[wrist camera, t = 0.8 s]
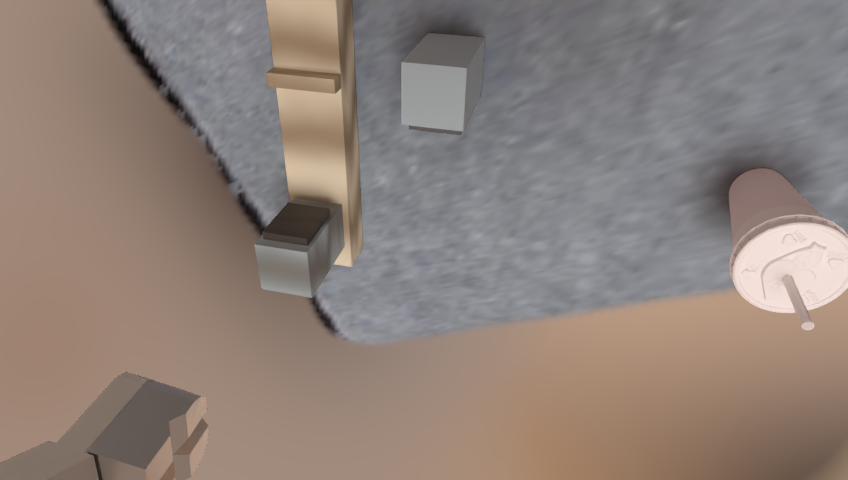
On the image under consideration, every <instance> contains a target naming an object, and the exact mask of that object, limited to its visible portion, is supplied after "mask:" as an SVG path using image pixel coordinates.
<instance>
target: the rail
mask: <svg viewBox="0 0 848 480" xmlns="http://www.w3.org/2000/svg"><path fill="white" fill-rule="evenodd" d="M266 5H267V14H268V22H269V31H270V39H271V47H272V56H273V64H274V68H273V69H271V70H270V71H268V72H267V73H266V74H267V82H268V87H275V88H276V89H277V98H278V106H279V114H280V123H281V131H282V140H283V148H284V156H285V165H286V173H287V182H288V190H289V198H290V203H289V202H288V203H287V205H286V206H285V207H284V208H283V209H282V210H281V211H280V212H279V214H278V215H277V216H276V217H275V218H274V219H273V220H272V222H271V223H270V224H269V225H268V226H267V227H266V228H265V229H264V231H263V232H262V233H263V235H262V236H261V237H260V238H259V240H258V241H257V242H256V243H255V244H254V245H255V251H256V257H257V263H258V270H259V276H260V281H261V287H262V289H266V290H271V291H277V292H283V293H288V294H294V295H300V296H305V297H311V298H312V297H313V295H314V293H315V292H316V290H317V289H318V287H319V286H320V284H321V283H322V281H323V279H324V278H325V276H326V275H327V273H328V272H329V270H330V269H331V267H332V265H333V264H337V265H343V266H350V267H352V265H353V264H354V262H355V260H356V259H357V257H358V255H359V254H360V252H361V250H362V249H363V236H362V214H361V191H360V169H359V146H358V124H357V101H356V79H355V57H354V34H353V12H352V0H266Z"/></svg>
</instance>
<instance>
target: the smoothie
mask: <svg viewBox="0 0 848 480" xmlns="http://www.w3.org/2000/svg"><path fill="white" fill-rule="evenodd" d="M729 207H730V219H731V231H732V242H733V251H732V254H731V257H730V260H729V270H730V274H731V277H732V279H733V282H734V284H735V287H736V289H737V290H738V292H739V293H740V295H741V296H742V297H743V298H744V299H746V300H747V301H748V302H750V303H751V304H753V305H755V306H757V307H759V308H761V309H764V310H768V311H772V312H779V313H796V314H797V317H798V319H799V321H800V324H801V326H802V328H803V329H804V330H811V329H812V328H813V327H814V324H813V321H812V319H811V317H810V315H809V313H808V310H812V309H815V308H818V307H820V306H823V305H825V304H827V303H829V302H830V301H832V300H834V299H835V298H837V297H838V296H839V295H841V294H842V293H843V292H844V291H845V290H846V289H847V288H848V234H847V233H846V232H845V230H844V229H843V228H841V227H840V226H838V225H837V224H836V223H834V222H833V221H831V220H828V219H825V218H824V217H822V216H821V215H820V214H819V213H818V212H817V211H816V210H815V209H814V208H813V207H812V206H811V204H810V203H809V202H808V201H807V200H806V199H805V198H804V197H803V196H802V195H801V194H800V193H799V192H798V191H797V190H796V189H795V188H794V187H793V186H792V185H791V184H790V183H789V182H788V181H787V180H786V179H785V178H784V177H783V176H782V175H781V174H780V173H778V172H776V171H774V170H771V169H766V168H758V169H753V170H750V171H747V172H745V173H743V174H741V175H740V176H739V177H737V178H736V179H735V180H734V182H733V183H732V185H731V187H730V189H729Z"/></svg>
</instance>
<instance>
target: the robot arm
mask: <svg viewBox="0 0 848 480" xmlns="http://www.w3.org/2000/svg"><path fill="white" fill-rule="evenodd" d="M206 411H207V399H206V397H204V396H201V395H198V394H194V393H191V392H188V391H185V390H182V389H179V388H176V387H173V386H169V385H166V384H163V383H160V382H157V381H154V380H152V379H149V378H145V377H141V376H139V375H135V374H132V373H129V372H125V373H123V374H121V375H119V376H118V377H116V378H115V379H114V380H113V381H112V382H111V383H110V384H109V386H108V387H107V388H106V389H105V390H104V391H103V392H102V394H100V395H99V397H98V398H97V399H96V400H95V401H94V402H93V403H92V404H91V405H90V406H89V408H88V409H87V410H86V411H85V412H84V413H83V414H82V415H81V416H80V418H79V419H78V420H77V421H76V422H75V423H74V424H73V425H72V426H71V427H70V429H69V430H68V431H67V432H66V433H65V434H64V435H63V436H62V437H61V439H60V440H59V441H58V442H57V443H55V442H51V441H47V442H45V443H43V444H40V445H38V446H36V447H34V448H31V449H29V450H27V451H25V452H23V453H20V454H18V455H16V456H14V457H11V458H9V459H7V460H5V461H3V462H0V480H186V479H188V478H190V477H191V476H192V474H193V473H194V471H195V470H196V468H197V466H198V465H199V463H200V460H201V458H202V456H203V453H204V451H205V449H206V446H207V441H208V436H209V428H208V425H207V423H206V422H205V421H204V420H203V418H202V417H203V416H204V414H205V413H206Z"/></svg>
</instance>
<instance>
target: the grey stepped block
mask: <svg viewBox="0 0 848 480" xmlns="http://www.w3.org/2000/svg"><path fill="white" fill-rule="evenodd" d="M484 48H485V38H484V37H472V36H460V35H448V34H436V33H428V34H427V35H426V36H425V37H424V38H423V39H422V40H421V41H420V42H419V43H418V45H417V46H416V47H415V48H414V49H413V50H412V51H411V52H410V53H409V54H408V55H407V56H406V58H405V59H404V60H403V61H402V62H401V125H409V129H412V130H421V131H430V132H439V133H447V134H456V135H461V133H462V132H463V131H464V129H465V127H466V125H467V123H468V120H469V118H470V116H471V114H472V112H473V110H474V108H475V106H476V104H477V102H478V100H479V98H480V96H481V89H482V75H483V62H484Z"/></svg>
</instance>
